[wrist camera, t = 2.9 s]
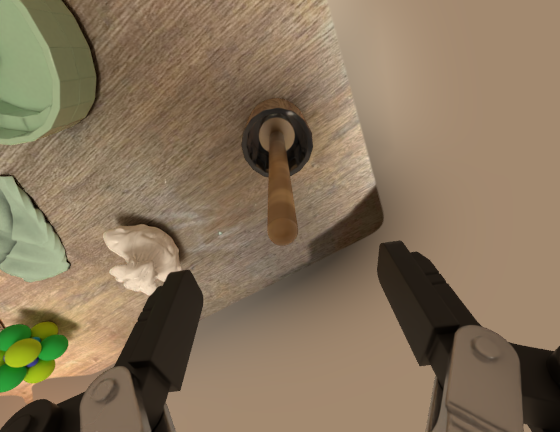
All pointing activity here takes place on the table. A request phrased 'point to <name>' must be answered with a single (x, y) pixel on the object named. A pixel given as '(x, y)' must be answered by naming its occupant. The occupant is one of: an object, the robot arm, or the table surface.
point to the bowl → (42, 70)
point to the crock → (260, 156)
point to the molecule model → (29, 353)
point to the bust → (142, 256)
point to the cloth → (27, 237)
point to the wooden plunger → (279, 179)
